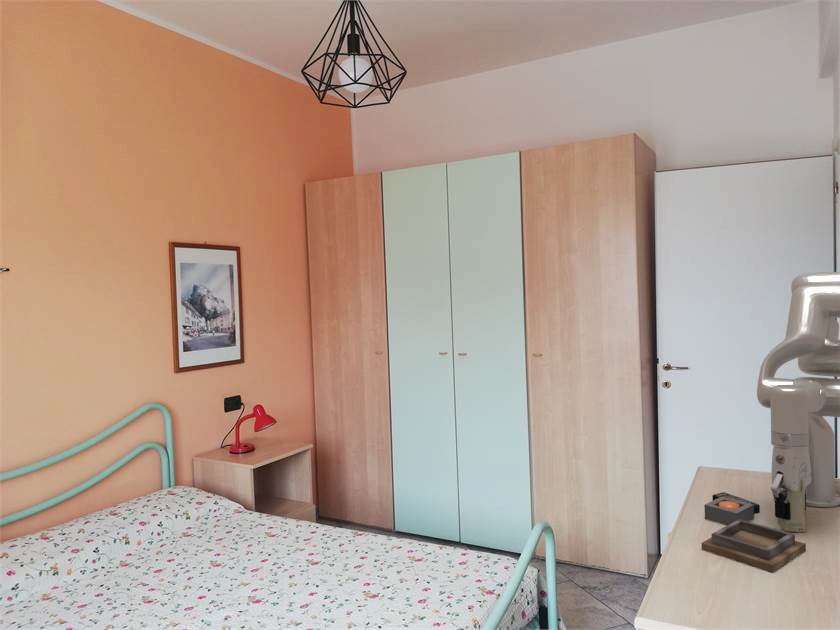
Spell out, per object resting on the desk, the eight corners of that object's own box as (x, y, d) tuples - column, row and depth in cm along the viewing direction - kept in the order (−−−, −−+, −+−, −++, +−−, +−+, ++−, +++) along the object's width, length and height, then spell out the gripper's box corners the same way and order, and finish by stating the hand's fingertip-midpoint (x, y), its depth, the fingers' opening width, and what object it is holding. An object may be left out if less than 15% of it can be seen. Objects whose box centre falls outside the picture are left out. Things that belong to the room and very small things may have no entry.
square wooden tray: (736, 530, 150) (735, 515, 150) (805, 550, 138) (805, 534, 138) (701, 549, 141) (701, 533, 141) (772, 572, 129) (772, 555, 129)
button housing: (721, 510, 163) (721, 496, 163) (754, 518, 156) (753, 504, 156) (704, 518, 158) (704, 504, 158) (737, 527, 152) (737, 513, 151)
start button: (725, 509, 160) (724, 499, 160) (742, 514, 157) (742, 504, 157) (715, 514, 158) (715, 504, 157) (733, 519, 154) (733, 508, 154)
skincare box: (806, 532, 147) (805, 480, 146) (785, 532, 148) (784, 479, 147) (796, 522, 153) (795, 471, 153) (776, 521, 154) (775, 471, 153)
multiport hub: (748, 517, 159) (747, 508, 158) (711, 503, 169) (711, 494, 168) (760, 513, 160) (760, 504, 160) (724, 500, 170) (724, 491, 170)
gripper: (789, 449, 141) (790, 528, 142) (823, 434, 151) (824, 508, 153) (754, 443, 147) (756, 519, 148) (789, 429, 157) (790, 500, 159)
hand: (790, 513), depth 150 cm, fingers closed on skincare box, 7 cm apart
